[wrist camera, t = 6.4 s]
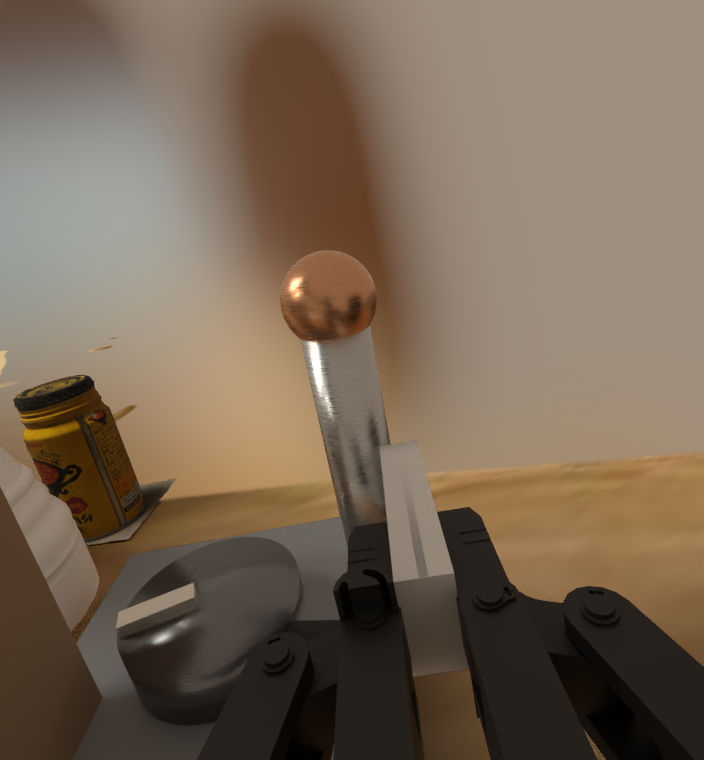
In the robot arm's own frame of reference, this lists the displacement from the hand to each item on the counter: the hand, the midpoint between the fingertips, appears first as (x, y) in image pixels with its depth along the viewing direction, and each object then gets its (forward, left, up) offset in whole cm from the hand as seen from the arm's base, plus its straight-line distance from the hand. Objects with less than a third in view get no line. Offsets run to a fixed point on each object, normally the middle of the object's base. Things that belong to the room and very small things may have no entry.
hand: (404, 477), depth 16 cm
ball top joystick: (-7, +3, -8) cm, 11 cm away
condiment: (-23, +20, -11) cm, 32 cm away
